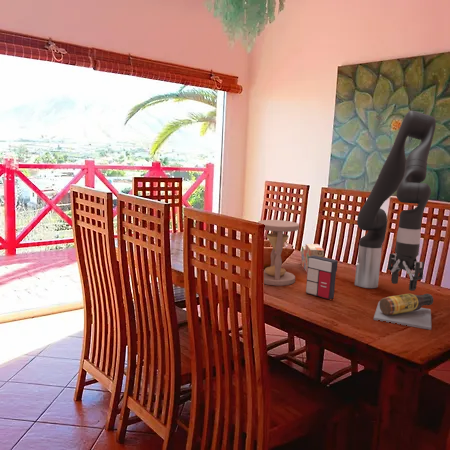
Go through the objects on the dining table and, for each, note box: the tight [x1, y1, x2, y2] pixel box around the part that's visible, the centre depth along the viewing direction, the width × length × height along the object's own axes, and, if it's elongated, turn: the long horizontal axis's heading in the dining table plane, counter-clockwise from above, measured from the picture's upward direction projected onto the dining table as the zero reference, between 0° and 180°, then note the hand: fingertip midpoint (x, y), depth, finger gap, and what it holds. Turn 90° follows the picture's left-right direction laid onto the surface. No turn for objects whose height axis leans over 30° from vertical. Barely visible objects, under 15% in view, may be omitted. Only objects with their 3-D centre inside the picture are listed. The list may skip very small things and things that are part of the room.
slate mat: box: [373, 300, 432, 331], centre depth 163 cm, size 18×20×1 cm
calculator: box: [305, 255, 339, 300], centre depth 180 cm, size 11×4×15 cm, turn 47°
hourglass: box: [257, 219, 300, 287], centre depth 199 cm, size 18×18×25 cm
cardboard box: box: [300, 243, 325, 273], centre depth 220 cm, size 21×6×12 cm, turn 1°
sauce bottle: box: [379, 293, 434, 315], centre depth 163 cm, size 6×6×20 cm
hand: (403, 286), depth 161 cm, fingers open, 8 cm apart
